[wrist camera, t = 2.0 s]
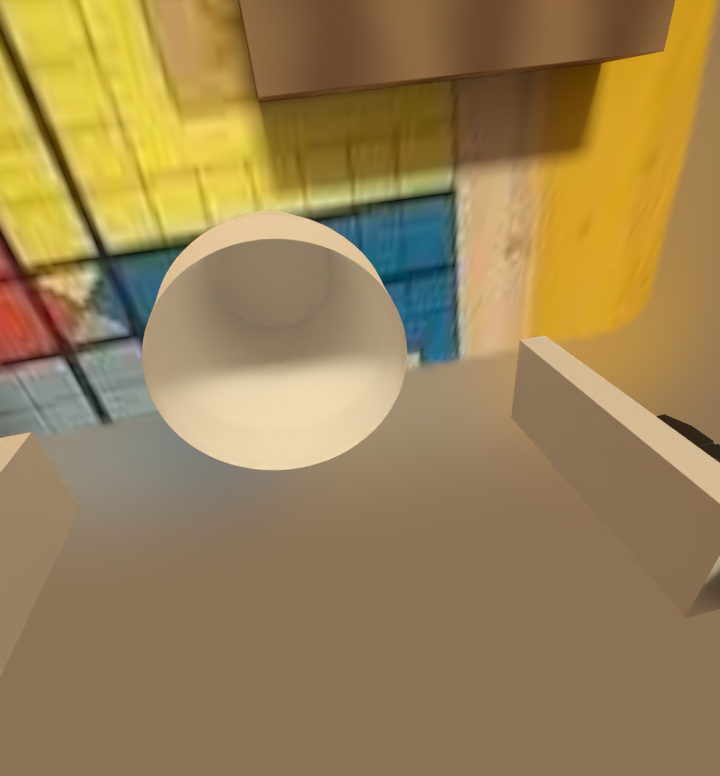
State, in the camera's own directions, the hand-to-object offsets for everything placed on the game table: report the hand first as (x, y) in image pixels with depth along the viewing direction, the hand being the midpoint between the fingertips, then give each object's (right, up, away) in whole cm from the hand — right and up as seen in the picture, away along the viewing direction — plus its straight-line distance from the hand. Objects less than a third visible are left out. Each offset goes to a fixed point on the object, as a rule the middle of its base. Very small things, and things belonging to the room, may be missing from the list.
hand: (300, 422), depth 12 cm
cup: (-3, +8, +13) cm, 15 cm away
